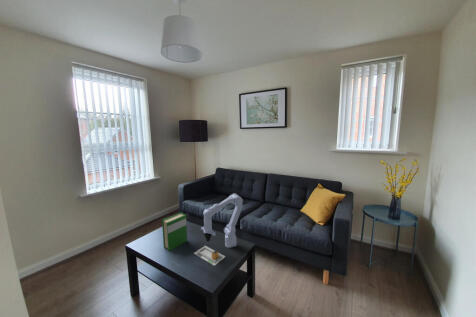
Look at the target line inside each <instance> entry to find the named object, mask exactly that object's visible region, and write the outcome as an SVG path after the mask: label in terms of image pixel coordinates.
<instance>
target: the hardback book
mask: <svg viewBox="0 0 476 317" xmlns="http://www.w3.org/2000/svg"><path fill="white" fill-rule="evenodd" d="M161 223H162V224H161V225H162V240H163V249H165V248H166V249H167V250H168V252H170V251H172V250H174V249H176V248H178V247H179V246H181V245H183V244H184V243H186V242H188V229H187V228H188V227H187V214H185V213H182V212H179V213H176V214H174V215H171V216H169V217H166V218H164V219H162V220H161Z"/></svg>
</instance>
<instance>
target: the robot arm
mask: <svg viewBox="0 0 476 317" xmlns="http://www.w3.org/2000/svg"><path fill="white" fill-rule="evenodd" d="M243 201H244V200H243V198H242V197H241V196H240V195H238V194H237V193H235V192H234V193H232V194H230V195H229V196H228V197H227V198H225V199H224V200H222V201H221V202H220V203H214V204H213V205H212V206H210V207H208V208H205V209H204V210H203V212H202V215H203V226H201V227H200V231H203V235H204V238H205V239H206V242H208V243H209V242H211V237H212V236H213V237H215V236H216V235H217V234H216V231H214V230H213V229H212V227H213V224H212V223H213V222H212V218H213V216H214V215H215V214H216V213H218V212H220V211H221V209H222V208H224V207H226V206H227V205H229V204H233V205H234V209H233V213H232V215H231V216H230V220H229V222H228V223H227V224H226V226H225V227H224V228H223V233H224V234H225V235H224V245H225V247H226V248H233V247H236V246H238V244H237V235H236V230H237V229H236V226H237V222H238V219H239V217H240V214H241V211H242V210H243Z"/></svg>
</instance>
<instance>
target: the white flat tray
mask: <svg viewBox="0 0 476 317" xmlns="http://www.w3.org/2000/svg"><path fill="white" fill-rule="evenodd" d="M214 251H215V250H214V249H212V248H211V247H208V246H206V245H204V246H203V247H201V248H200V249H198V250H197V251H195V252H193V254H194V255H196V256H198V257H199V258H201V259H202V260H205V261H206V262H208V263H209V264H211V265H213V267H214V266H216V265H217V264H218V263H220V262H221V261H222V260H224V258H226V255H224V254H221V253H219V252H218V258H217V259H216V260H213V259H212V252H214Z"/></svg>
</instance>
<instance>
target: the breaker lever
mask: <svg viewBox="0 0 476 317" xmlns="http://www.w3.org/2000/svg"><path fill="white" fill-rule="evenodd" d="M218 253H219V251H217V250H216V249H215V250H214V252H212V259H213V260H216V259H217V258H218Z"/></svg>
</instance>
